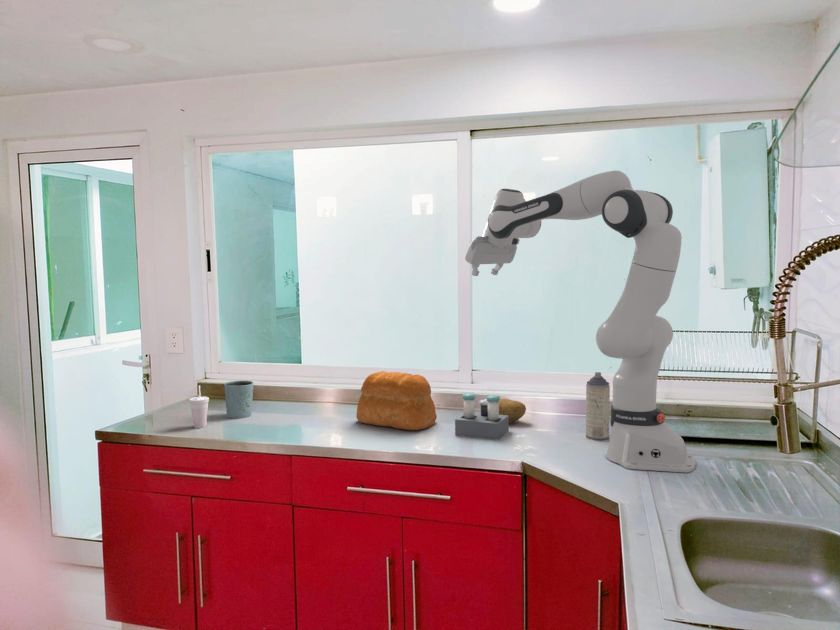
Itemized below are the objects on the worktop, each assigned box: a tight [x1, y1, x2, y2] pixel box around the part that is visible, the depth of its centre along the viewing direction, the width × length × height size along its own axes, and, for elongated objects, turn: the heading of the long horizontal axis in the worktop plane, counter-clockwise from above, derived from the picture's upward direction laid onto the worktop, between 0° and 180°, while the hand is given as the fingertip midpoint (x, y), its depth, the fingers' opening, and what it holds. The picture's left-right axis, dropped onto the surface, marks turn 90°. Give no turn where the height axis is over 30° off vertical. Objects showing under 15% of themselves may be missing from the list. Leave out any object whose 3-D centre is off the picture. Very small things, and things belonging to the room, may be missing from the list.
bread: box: [356, 370, 438, 431], centre depth 201 cm, size 16×26×17 cm, turn 59°
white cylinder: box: [462, 392, 476, 418], centre depth 188 cm, size 4×4×7 cm
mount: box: [454, 398, 510, 441], centre depth 187 cm, size 14×11×10 cm
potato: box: [499, 398, 527, 423], centre depth 200 cm, size 10×14×8 cm
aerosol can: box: [585, 371, 611, 441], centre depth 181 cm, size 7×7×20 cm
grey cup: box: [223, 380, 254, 420], centre depth 214 cm, size 10×10×12 cm
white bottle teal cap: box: [486, 394, 501, 421], centre depth 184 cm, size 4×4×7 cm
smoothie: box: [188, 385, 210, 429], centre depth 199 cm, size 6×6×14 cm
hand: (484, 274), depth 200 cm, fingers open, 8 cm apart
